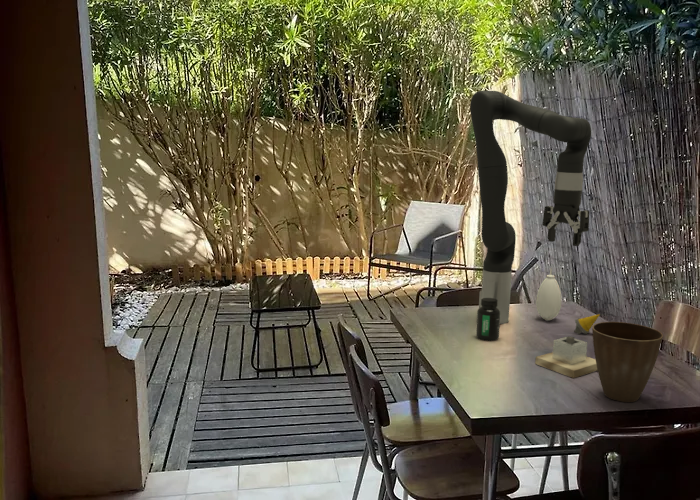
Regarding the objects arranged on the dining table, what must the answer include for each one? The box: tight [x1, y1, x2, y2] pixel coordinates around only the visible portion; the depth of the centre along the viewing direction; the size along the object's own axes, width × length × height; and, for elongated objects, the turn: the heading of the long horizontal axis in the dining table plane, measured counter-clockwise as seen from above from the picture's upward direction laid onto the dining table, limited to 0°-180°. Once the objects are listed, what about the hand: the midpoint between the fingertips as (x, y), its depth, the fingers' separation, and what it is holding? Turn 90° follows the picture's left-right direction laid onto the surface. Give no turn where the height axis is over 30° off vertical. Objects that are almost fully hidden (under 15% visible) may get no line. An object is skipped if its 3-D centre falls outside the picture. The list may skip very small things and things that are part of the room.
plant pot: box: [591, 321, 664, 403], centre depth 142 cm, size 15×15×16 cm
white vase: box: [535, 268, 562, 321], centre depth 204 cm, size 8×8×18 cm
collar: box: [552, 336, 588, 365], centre depth 161 cm, size 6×6×5 cm
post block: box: [534, 336, 598, 379], centre depth 162 cm, size 12×12×8 cm
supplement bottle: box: [475, 298, 501, 342], centre depth 185 cm, size 7×7×12 cm
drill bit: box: [573, 313, 601, 335], centre depth 191 cm, size 5×5×10 cm
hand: (563, 243), depth 179 cm, fingers open, 8 cm apart
